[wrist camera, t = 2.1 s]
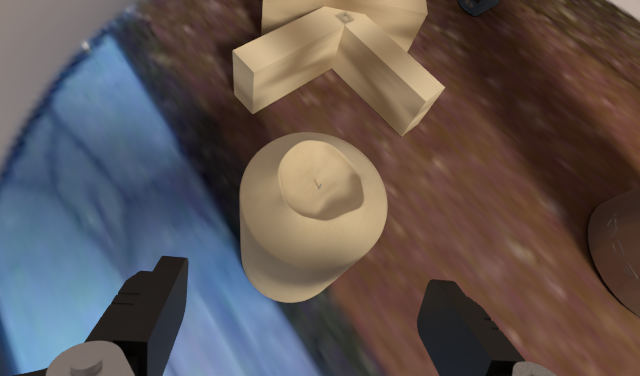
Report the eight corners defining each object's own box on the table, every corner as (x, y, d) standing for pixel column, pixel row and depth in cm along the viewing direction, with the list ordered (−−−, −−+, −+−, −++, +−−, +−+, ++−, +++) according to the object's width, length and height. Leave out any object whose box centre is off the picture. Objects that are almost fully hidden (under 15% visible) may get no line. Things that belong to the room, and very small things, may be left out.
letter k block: (411, 42, 30) (439, -13, 26) (419, 139, 26) (455, 94, 22) (249, 10, 28) (250, -54, 24) (231, 111, 24) (228, 55, 20)
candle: (354, 252, 22) (432, 179, 13) (292, 326, 19) (334, 299, 10) (287, 192, 22) (316, 84, 14) (219, 255, 20) (201, 175, 11)
